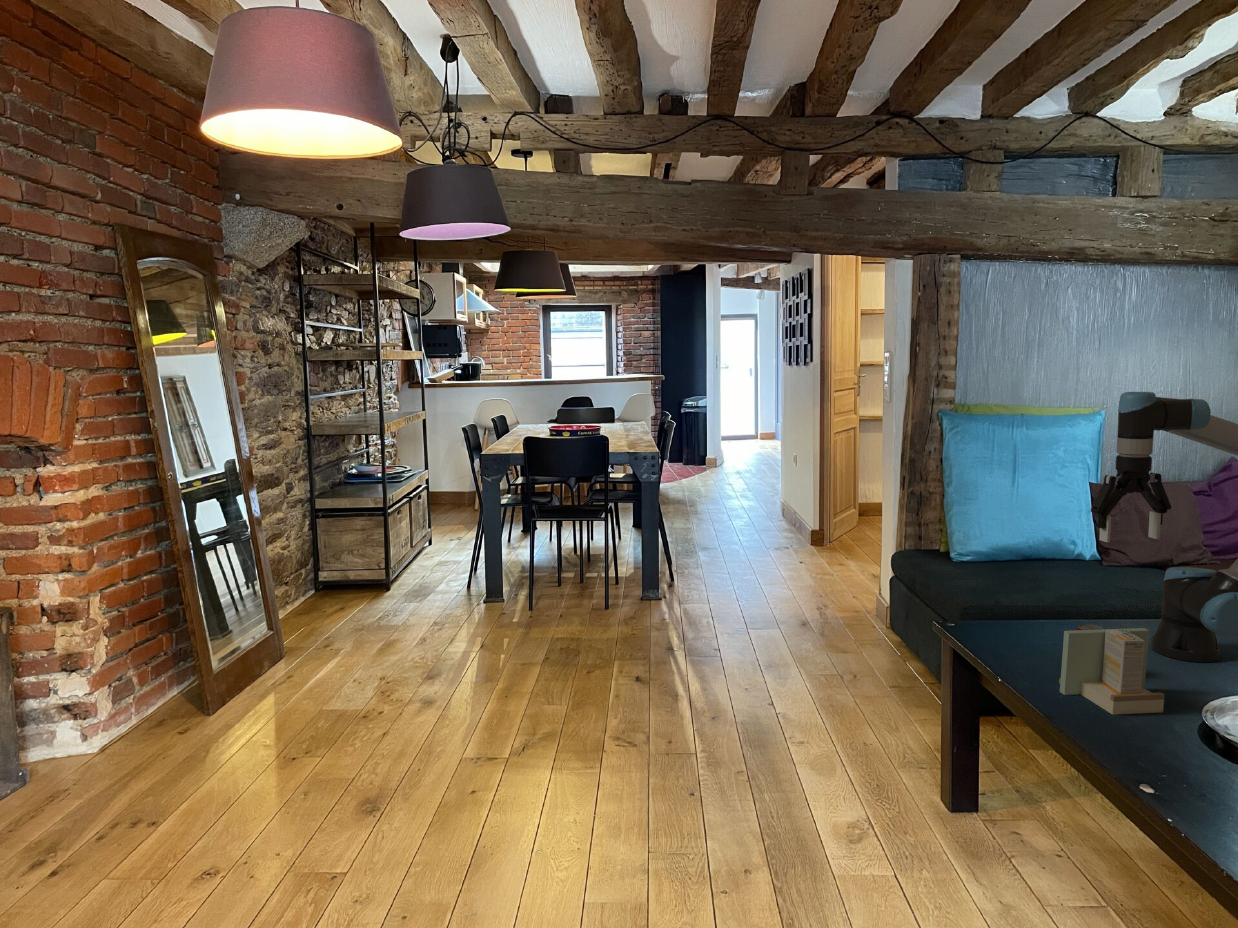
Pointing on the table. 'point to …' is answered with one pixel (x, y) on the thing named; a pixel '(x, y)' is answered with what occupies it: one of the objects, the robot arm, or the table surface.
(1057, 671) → the table surface
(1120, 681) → the supplement box
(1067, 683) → the wall board
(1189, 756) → the table surface
